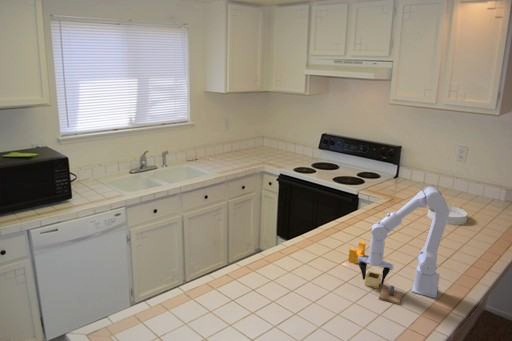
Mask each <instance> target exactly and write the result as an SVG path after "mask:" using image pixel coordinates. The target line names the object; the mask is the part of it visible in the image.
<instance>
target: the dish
mask: <svg viewBox="0 0 512 341" xmlns="http://www.w3.org/2000/svg"><path fill="white" fill-rule="evenodd" d="M447 206H448V209H449V216H448V219H447V222H446V225H451V226H458V225H459V226H460V225H465V224H466V223H467V221H468V220H467V216H468V213H467V211H465V210H464V209H462V208H459V207H457V206H453V205H452V206H451V205H447ZM434 214H435V211H434V210H433V209H432V208H431V207H429V206H428V211H427V213H426V215H427V217H428V219H430V220H433V217H434Z"/></svg>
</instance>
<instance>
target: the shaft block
mask: <svg viewBox="0 0 512 341" xmlns="http://www.w3.org/2000/svg"><path fill="white" fill-rule="evenodd" d="M388 288H389V289H388ZM388 288H385V287H382V288H381V291H380V293H379V294H378V295H379V296H378V300H381V301H384V302H387V303H392V304H396V305H400V303H401V301H402V298H403V292H401V291H397V290H395V286H393V285H390V286H389V287H388Z"/></svg>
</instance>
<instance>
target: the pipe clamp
mask: <svg viewBox="0 0 512 341" xmlns="http://www.w3.org/2000/svg"><path fill="white" fill-rule="evenodd" d="M365 253H366V242H364V241H359V242H358V246H357V248H353V247H351V248H349V252H348V263H349V262H350V263H351V264H355V265H359V263H358V262H357V260H358V257H364V256H365V255H366V254H365Z"/></svg>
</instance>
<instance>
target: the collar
mask: <svg viewBox="0 0 512 341" xmlns="http://www.w3.org/2000/svg"><path fill="white" fill-rule="evenodd" d="M382 274H383V273H378V272H373V271H369V270H368V272H366V277H365V280H364V286H366V287H370V288H373V289H379V288H380V285H381V281H382Z"/></svg>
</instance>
